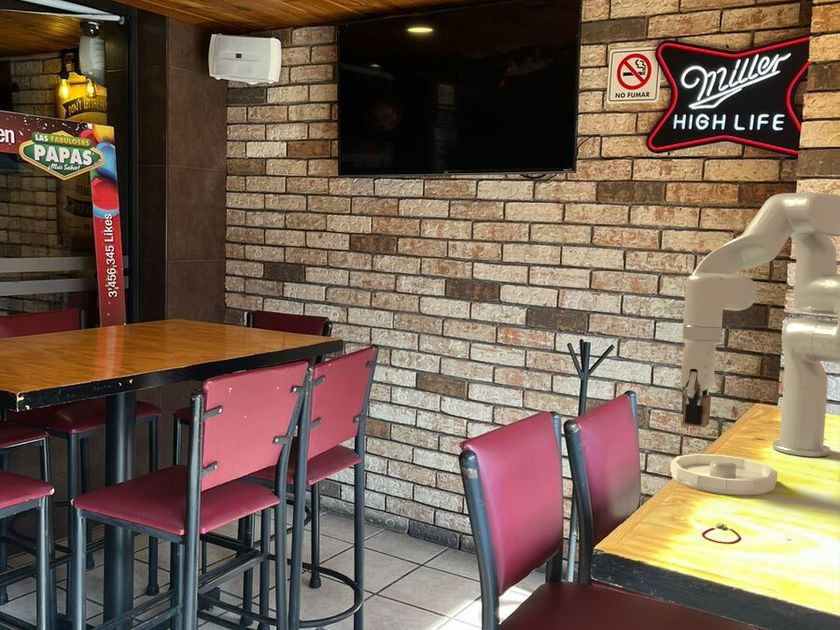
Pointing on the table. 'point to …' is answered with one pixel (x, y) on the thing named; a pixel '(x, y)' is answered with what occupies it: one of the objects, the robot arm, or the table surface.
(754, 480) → the dish
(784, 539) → the table surface
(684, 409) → the wooden brick
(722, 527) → the red cord bracelet
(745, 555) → the table surface
